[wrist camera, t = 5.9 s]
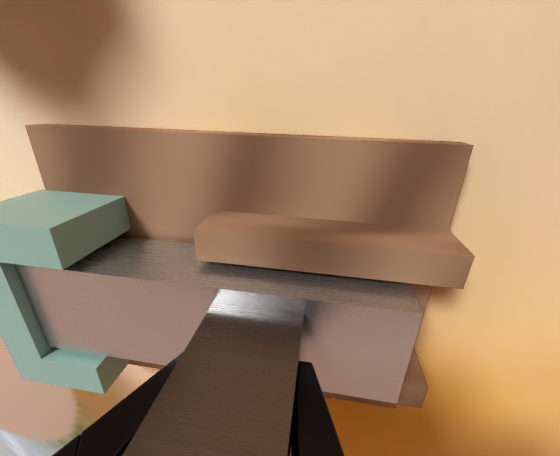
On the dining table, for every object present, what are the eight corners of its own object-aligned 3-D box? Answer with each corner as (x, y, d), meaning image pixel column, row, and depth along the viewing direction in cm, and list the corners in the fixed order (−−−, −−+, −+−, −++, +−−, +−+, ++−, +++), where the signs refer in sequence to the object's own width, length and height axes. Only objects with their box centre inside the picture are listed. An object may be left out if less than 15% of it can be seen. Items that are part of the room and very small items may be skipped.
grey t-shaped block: (400, 264, 11) (542, 569, 4) (382, 342, 12) (456, 658, 5) (77, 232, 13) (-243, 392, 6) (98, 303, 14) (-130, 498, 7)
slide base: (460, 142, 10) (510, 155, 7) (391, 390, 15) (405, 452, 12) (47, 123, 12) (-34, 128, 9) (111, 345, 17) (71, 390, 15)
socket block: (124, 196, 12) (49, 228, 9) (151, 332, 15) (104, 394, 12) (41, 189, 12) (-58, 217, 9) (85, 322, 15) (22, 378, 12)
